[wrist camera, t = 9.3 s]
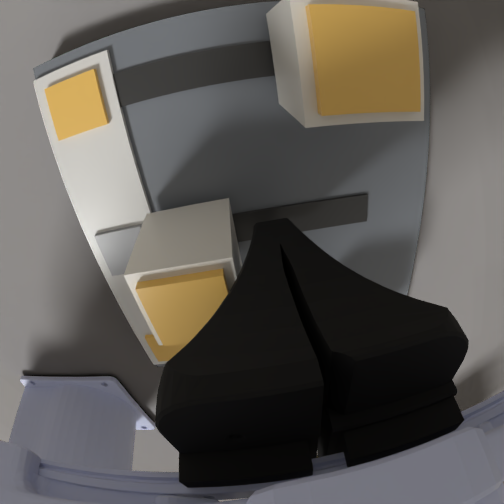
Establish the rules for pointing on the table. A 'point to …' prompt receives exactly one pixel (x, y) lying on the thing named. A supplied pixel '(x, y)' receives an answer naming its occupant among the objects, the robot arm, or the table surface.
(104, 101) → the switch unit
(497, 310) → the table surface
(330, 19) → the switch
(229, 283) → the switch mid
